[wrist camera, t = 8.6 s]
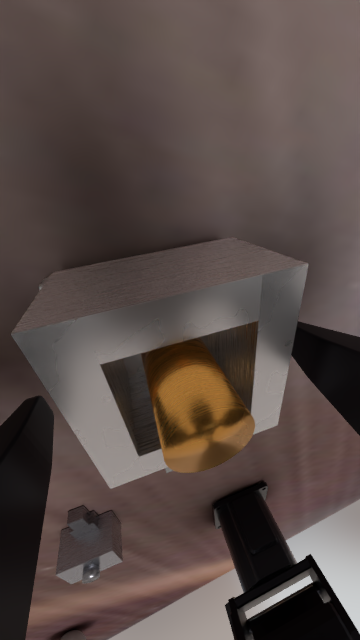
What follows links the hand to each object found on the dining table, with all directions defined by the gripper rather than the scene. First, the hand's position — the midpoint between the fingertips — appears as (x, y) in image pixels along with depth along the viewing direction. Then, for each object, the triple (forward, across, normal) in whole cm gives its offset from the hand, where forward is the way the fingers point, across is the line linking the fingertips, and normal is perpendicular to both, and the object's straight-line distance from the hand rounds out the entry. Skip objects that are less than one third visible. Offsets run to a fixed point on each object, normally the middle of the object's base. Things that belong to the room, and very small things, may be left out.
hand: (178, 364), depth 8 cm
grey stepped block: (+3, +9, +17) cm, 20 cm away
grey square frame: (+2, 0, 0) cm, 2 cm away
